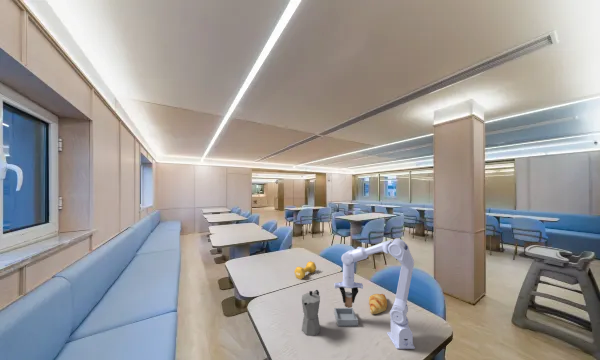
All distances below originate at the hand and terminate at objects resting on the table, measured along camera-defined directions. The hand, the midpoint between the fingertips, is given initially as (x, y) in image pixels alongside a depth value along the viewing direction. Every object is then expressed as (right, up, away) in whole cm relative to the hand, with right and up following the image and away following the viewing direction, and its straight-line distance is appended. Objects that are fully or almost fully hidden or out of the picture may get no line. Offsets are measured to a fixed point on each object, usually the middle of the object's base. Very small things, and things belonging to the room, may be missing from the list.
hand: (348, 301), depth 106 cm
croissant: (+20, -10, +12) cm, 25 cm away
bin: (-1, -9, 0) cm, 9 cm away
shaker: (0, -2, 0) cm, 2 cm away
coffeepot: (-19, -9, -7) cm, 22 cm away
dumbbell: (-21, -11, +53) cm, 58 cm away
